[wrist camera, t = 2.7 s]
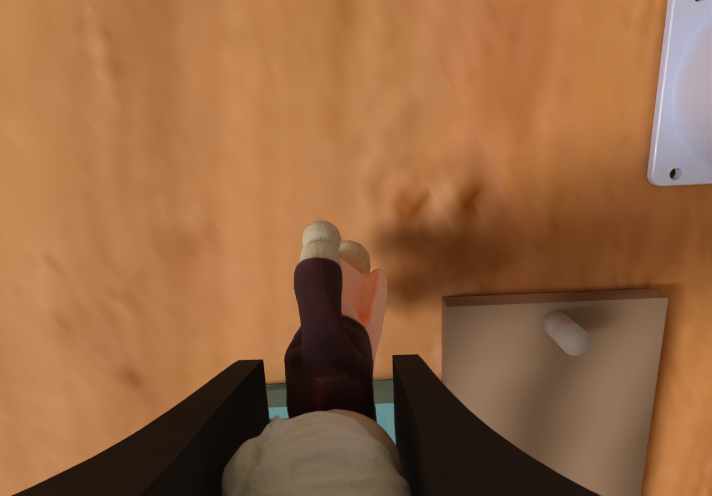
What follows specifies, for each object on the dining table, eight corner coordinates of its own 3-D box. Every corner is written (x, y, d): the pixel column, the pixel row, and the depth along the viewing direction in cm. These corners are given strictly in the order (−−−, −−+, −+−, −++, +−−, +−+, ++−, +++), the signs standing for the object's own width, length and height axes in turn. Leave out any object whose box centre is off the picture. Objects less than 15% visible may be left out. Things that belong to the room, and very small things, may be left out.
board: (651, 288, 21) (702, 315, 17) (620, 523, 24) (658, 580, 21) (442, 297, 21) (456, 325, 18) (442, 528, 24) (453, 585, 21)
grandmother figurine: (402, 349, 19) (506, 764, 7) (317, 368, 19) (271, 804, 7) (364, 179, 17) (418, 335, 5) (269, 201, 17) (73, 410, 5)
